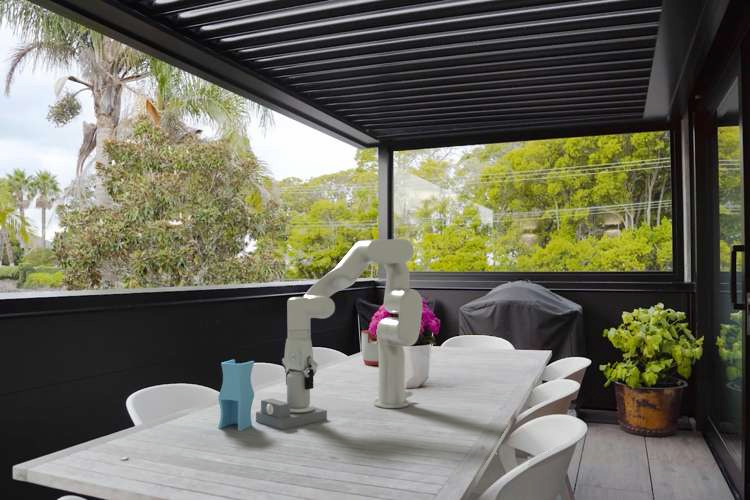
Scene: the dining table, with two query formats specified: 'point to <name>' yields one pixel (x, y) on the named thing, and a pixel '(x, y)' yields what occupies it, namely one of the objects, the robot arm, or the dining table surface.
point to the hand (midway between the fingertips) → (299, 386)
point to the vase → (236, 394)
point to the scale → (288, 414)
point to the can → (297, 390)
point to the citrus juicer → (370, 348)
